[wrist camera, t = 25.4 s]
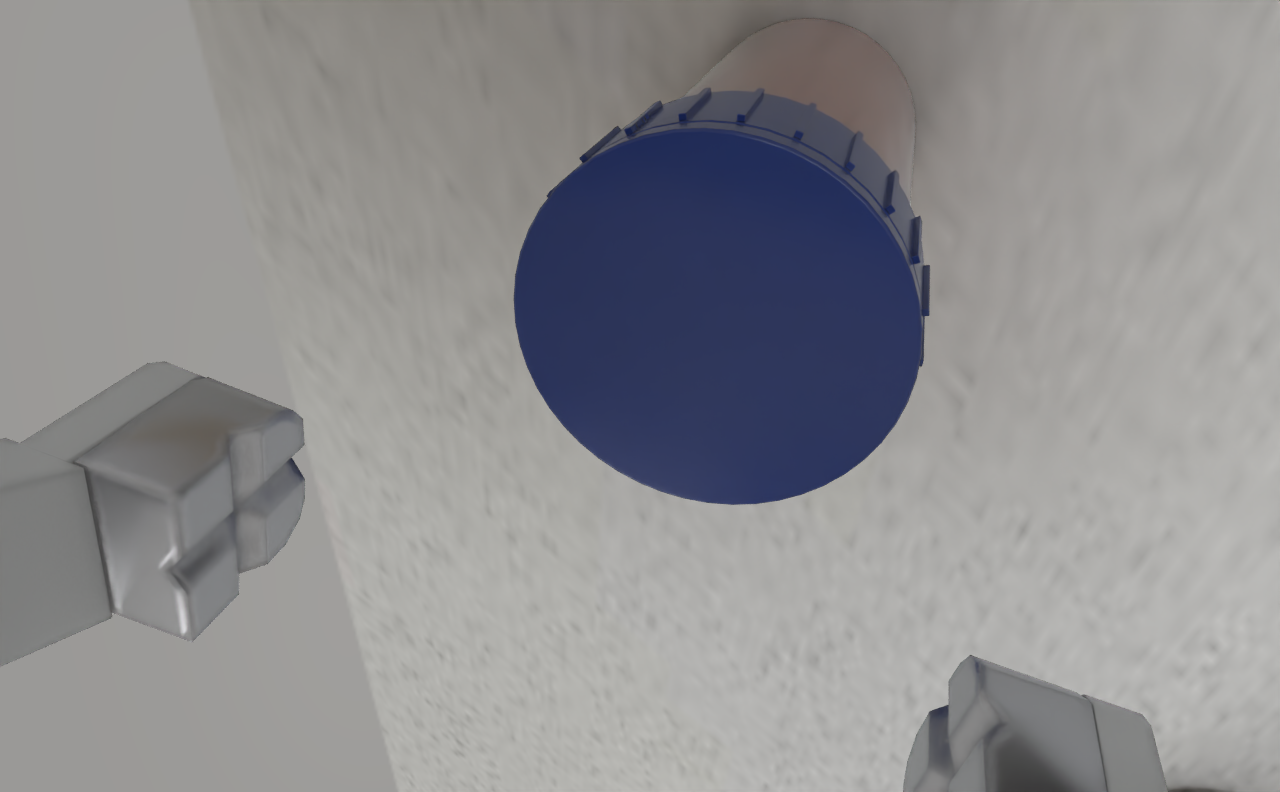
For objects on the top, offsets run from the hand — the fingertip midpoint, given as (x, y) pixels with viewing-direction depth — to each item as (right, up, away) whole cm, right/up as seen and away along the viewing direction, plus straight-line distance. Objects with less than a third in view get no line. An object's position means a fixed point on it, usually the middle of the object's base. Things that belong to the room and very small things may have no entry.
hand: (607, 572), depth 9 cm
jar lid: (+1, +3, +4) cm, 5 cm away
